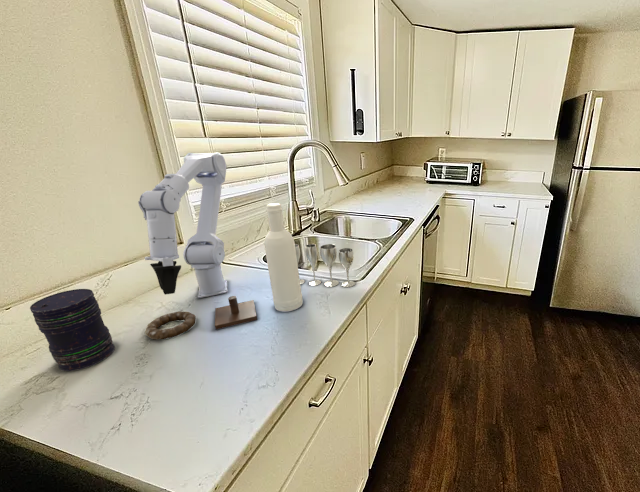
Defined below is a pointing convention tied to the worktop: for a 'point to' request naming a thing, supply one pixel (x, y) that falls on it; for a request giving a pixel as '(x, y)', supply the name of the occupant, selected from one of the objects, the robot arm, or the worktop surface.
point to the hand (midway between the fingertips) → (167, 291)
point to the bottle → (282, 262)
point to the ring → (157, 333)
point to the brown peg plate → (234, 313)
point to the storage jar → (73, 329)
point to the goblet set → (328, 261)
